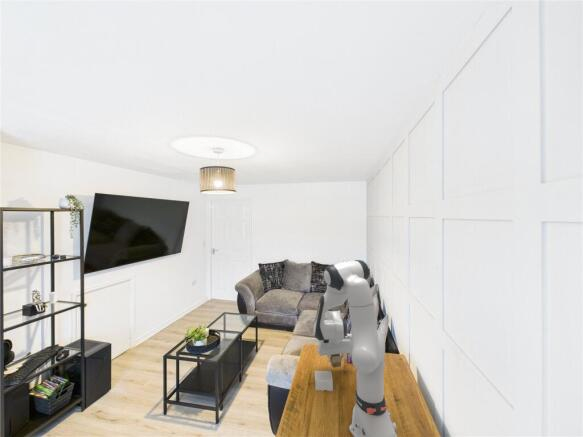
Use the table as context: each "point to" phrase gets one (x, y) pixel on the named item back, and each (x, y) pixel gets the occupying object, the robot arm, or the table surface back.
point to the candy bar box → (349, 355)
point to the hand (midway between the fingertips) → (335, 361)
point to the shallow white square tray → (323, 380)
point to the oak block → (336, 360)
